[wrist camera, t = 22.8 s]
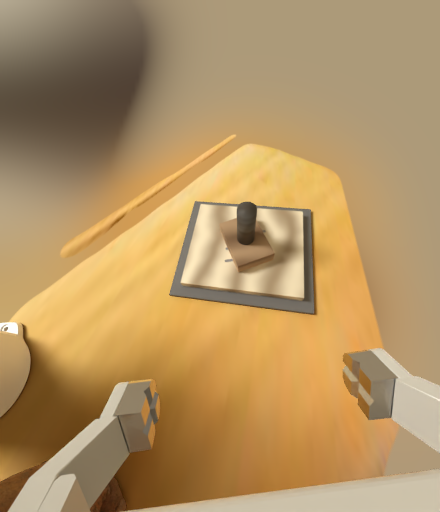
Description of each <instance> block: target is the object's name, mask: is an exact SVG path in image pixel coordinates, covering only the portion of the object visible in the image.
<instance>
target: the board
mask: <svg viewBox="0 0 440 512" xmlns="http://www.w3.org/2000/svg"><path fill="white" fill-rule="evenodd" d="M235 218H237V207H234V206H220V205H206V204H201V205H200V209H199V213H198V217H197V221H196V224H195V228H194V232H193V236H192V240H191V244H190V248H189V252H188V255H187V259H186V263H185V267H184V271H183V275H182V279H181V285H182V286H188V287H196V288H204V289H212V290H220V291H228V292H236V293H243V294H251V295H259V296H267V297H275V298H283V299H291V300H299V301H302V300H303V299H304V251H303V212H302V211H289V210H275V209H261V208H257V217H256V220H257V222H258V224H259V226H260V228H261V229H262V231H263V233H264V235H265V237H266V238H267V240H268V242H269V244H270V246H271V247H272V249H273V251H274V253H275V254H274V258H273V260H271V261H268V262H266V263H263V264H260V265H257V266H254V267H252V268H249V269H246V270H243V271H240V272H238V271H237V268H236V266H235V264H234V262H233V259H232V257H231V255H230V252H229V250H228V248H227V246H226V243H225V241H224V239H223V236H222V234H221V232H220V226H219V224H220V223H223V222H226V221H229V220H232V219H235Z"/></svg>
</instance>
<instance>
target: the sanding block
mask: <svg viewBox="0 0 440 512" xmlns="http://www.w3.org/2000/svg"><path fill="white" fill-rule="evenodd" d="M256 217H257V207H256V205H255V204H253V203H251V202H243V203H241V204H239V205H238V207H237V218H235V219H232V220H229V221H226V222H223V223H220V224H219V226H220V232H221V234H222V236H223V239H224V241H225V243H226V246H227V248H228V250H229V252H230V255H231V257H232V259H233V262H234V264H235V266H236V268H237V271H238V272H240V271H243V270H246V269H249V268H252V267H254V266H257V265H260V264H263V263H266V262H268V261H271V260H273V258H274V254H275V253H274V251H273V249H272V247H271V246H270V244H269V242H268V240H267V238H266V237H265V235H264V233H263V231H262V229H261V228H260V226H259V224H258V222H257V220H256Z"/></svg>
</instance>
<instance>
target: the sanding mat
mask: <svg viewBox="0 0 440 512" xmlns="http://www.w3.org/2000/svg"><path fill="white" fill-rule="evenodd" d="M201 204H206V205H220V206H234V207H238V205H239V204H225V203H211V202H197V201H195V203H194V207H193V211H192V214H191V218H190V221H189V225H188V229H187V232H186V236H185V240H184V243H183V247H182V251H181V254H180V258H179V261H178V265H177V269H176V272H175V276H174V280H173V283H172V287H171V290H170V294H169V295H170V296H177V297H185V298H193V299H200V300H208V301H215V302H223V303H230V304H238V305H245V306H253V307H260V308H268V309H276V310H283V311H291V312H298V313H306V314H314V290H313V262H312V233H311V210H309V209H295V208H281V207H267V206H256V207H257V208H261V209H275V210H289V211H302V212H303V251H304V299H303V300H302V301H299V300H291V299H283V298H275V297H267V296H259V295H251V294H243V293H236V292H228V291H220V290H212V289H204V288H196V287H188V286H182V285H181V279H182V275H183V271H184V267H185V263H186V259H187V255H188V252H189V248H190V244H191V240H192V236H193V232H194V228H195V224H196V221H197V217H198V213H199V209H200V205H201Z"/></svg>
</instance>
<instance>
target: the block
mask: <svg viewBox="0 0 440 512" xmlns="http://www.w3.org/2000/svg"><path fill="white" fill-rule="evenodd" d="M48 461H49V460H48ZM48 461H45V462H44V463H42V464H41V465H38V466H35V467H32V468H29V469H27V470H25V471H23V472H20V473H18V474H15V475H13V476H11V477H9V478H7V479H5V480H3V481H1V482H0V512H8V510H9V509H10V507H11V506H12V504H13V503H14V501H15V499H16V498H17V496H18V495H19V493H20V492H21V490H22V488H23V487H24V485H25V484H26V482H27V481H28V479H29V478H30V477H31V476H32V475H33V474H34V473H35V472H37V471H38V470H39V469H40V468H41V467H42V466H43V465H44V464H46V463H47V462H48ZM125 510H126V502H125V500H124V498H123V496H122V493H121V490H120V488H119V485H118V482H117V480H116V479H115V477H114V476H113V478H112V479H111V480H110V482H109V483H108V485H107V486H106V487H105V489H104V490H103V491H102V493H101V494H100V496H99V497H98V498H97V500H96V501H95V502H94V504H93V505H92V507H91V508H90V511H91V512H122V511H125Z"/></svg>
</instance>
